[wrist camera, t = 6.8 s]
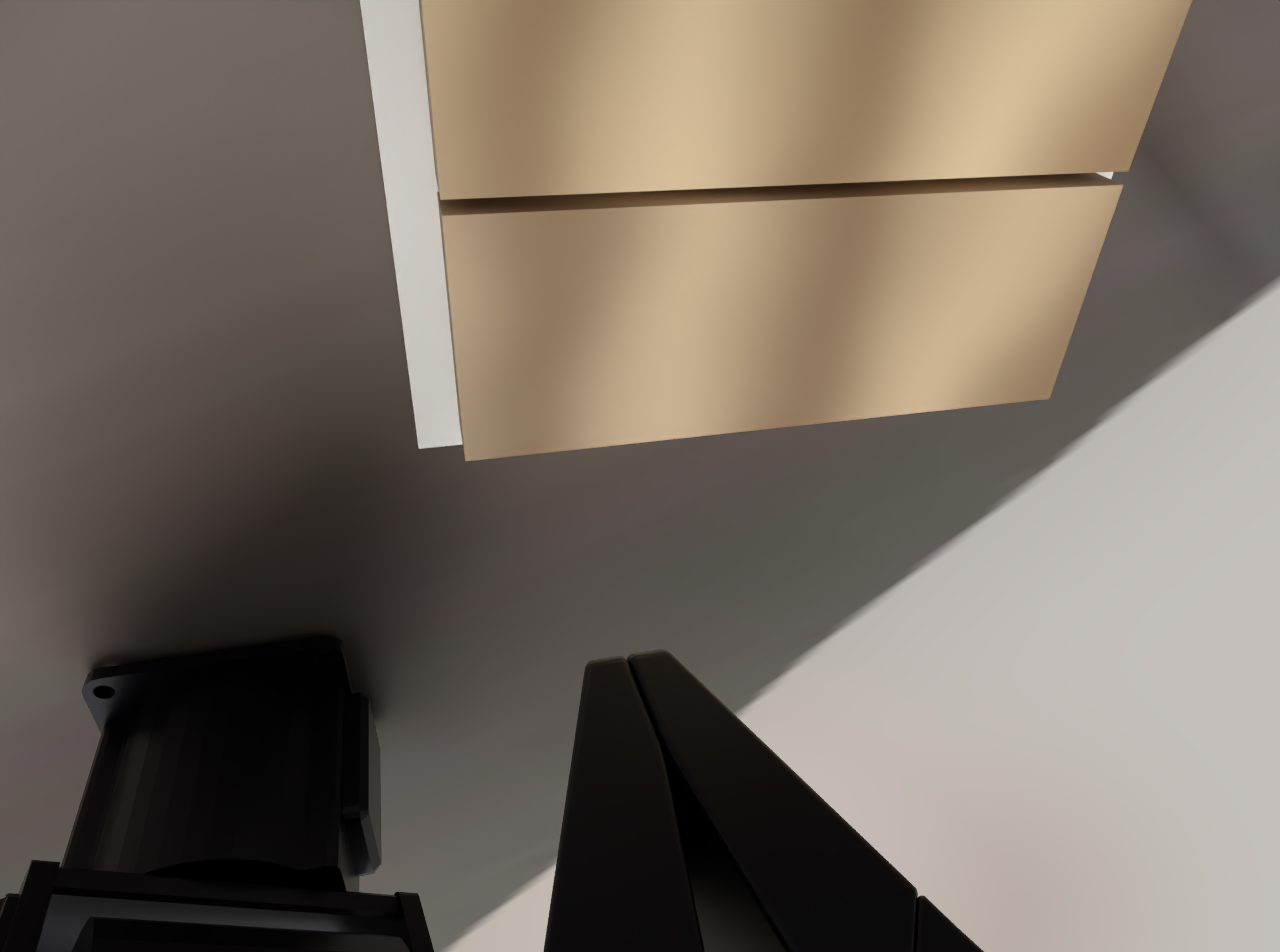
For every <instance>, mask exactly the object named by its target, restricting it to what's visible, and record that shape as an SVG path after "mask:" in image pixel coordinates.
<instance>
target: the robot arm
mask: <svg viewBox="0 0 1280 952" xmlns="http://www.w3.org/2000/svg"><path fill="white" fill-rule="evenodd" d="M322 652H328V653H330V654H328V655H321V654H319V653H322ZM101 685H107V686H110V687H103V686H101ZM82 693H83V697H84V699H85V701H86V703H87V705H88V707H89V709H90V711H91V713H92V715H93V717H94V719H95V721H96V723H97V725H98V728H99V730H100V732H101V738H100V741H99V744H98V747H97V751H96V754H95V757H94V760H93V764H92V767H91V770H90V774H89V777H88V780H87V783H86V787H85V790H84V793H83V796H82V800H81V803H80V806H79V809H78V813H77V816H76V819H75V822H74V826H73V829H72V832H71V836H70V839H69V842H68V845H67V849H66V852H65V855H64V858H63V862H62V865H61V867H59V866H60V862H51V861H39V860H32V861H31V863H30V866H29V868H28V871H27V873H26V876H25V878H24V881H23V883H22V886H21V888H20V890H19V893H18V894H10V893H8V894H6V897H5V898H3V899H0V952H434V950H433V946H432V942H431V939H430V935H429V931H428V928H427V924H426V920H425V917H424V913H423V909H422V906H421V902H420V898H419V895H418V894H417V893H406V892H396V893H395V894H394V895H385V894H373V893H361V892H359V876H364V875H369V874H373V873H375V871H376V870H377V869H378V867H379V866H380V865H381V784H380V747H379V743H378V738H377V733H376V728H375V724H374V719H373V714H372V709H371V705H370V700H369V698H368V697H367V696H366V695H364V694H363V693H362V692H359V693H354V690H353V686H352V681H351V677H350V672H349V668H348V663H347V659H346V655H345V650H344V646H343V644H342V642H341V641H340V640H339V639H337V638H336V637H333V636H316V637H309V638H302V639H295V640H288V641H281V642H274V643H268V644H261V645H254V646H247V647H240V648H233V649H226V650H220V651H213V652H206V653H199V654H192V655H185V656H178V657H172V658H165V659H158V660H151V661H144V662H137V663H130V664H124V665H117V666H110V667H103V668H99V669H95V670H93V671H92V672H90V673H89V674H88V676H87V678H86V680H85V683H84V686H83V689H82ZM917 896H918V893H917V889H916V888H915V887H914V886H913V885H912V884H911V883H910V882H909V881H908V880H907V879H906V878H905V877H904V876H903V875H902V874H901V873H900V872H898V871H897V870H896V869H895V868H894V867H893V866H892V865H891V864H890V863H889V862H888V861H887V860H886V859H885V858H884V857H883V856H882V855H881V854H880V853H878V851H877V850H875V849H874V848H873V847H872V846H871V845H870V844H869V843H868V842H867V841H866V840H865V839H864V838H863V837H862V836H861V835H860V834H859V833H858V832H856V830H855V829H853V828H852V827H851V826H850V825H849V824H848V823H847V822H846V821H845V820H844V819H843V818H842V817H841V816H840V815H839V814H838V813H837V812H836V811H835V810H834V809H833V808H831V807H830V806H829V805H828V804H827V803H826V802H825V801H824V800H823V799H822V798H821V797H820V796H819V795H818V794H817V793H816V792H815V791H814V790H813V789H812V788H811V787H810V786H809V785H808V784H806V783H805V782H804V781H803V780H802V779H801V778H800V777H799V776H798V775H797V774H796V773H795V772H794V771H793V770H792V769H791V768H790V767H789V766H788V765H787V764H785V763H784V762H783V761H782V760H781V759H780V758H779V757H778V756H777V755H776V754H775V753H774V752H773V751H772V750H771V749H770V748H769V747H768V746H767V745H766V744H765V743H764V742H763V741H761V740H760V739H759V738H758V737H757V736H756V735H755V734H754V733H753V732H752V731H751V730H750V729H749V728H748V727H747V726H746V725H745V724H743V722H742V721H741V720H740V719H739V718H737V717H736V716H735V715H734V714H733V713H732V712H731V711H730V710H729V709H728V708H727V707H726V706H725V705H724V704H723V703H722V702H721V701H720V700H719V699H718V698H717V697H716V696H714V695H713V694H712V693H711V692H710V691H709V690H708V689H707V688H706V687H705V686H704V685H703V684H702V683H701V682H700V681H699V680H698V679H697V678H696V677H695V676H694V675H693V674H691V673H690V672H689V671H688V670H687V669H686V668H685V667H684V666H683V665H682V664H681V663H680V662H679V661H678V660H677V659H676V658H675V657H674V656H673V655H672V654H670V653H669V652H668V651H665V650H653V651H647V652H641V653H634V654H631V655H630V656H629V657H628V658H627V660H626V659H625V658H624V657H622V656H616V657H610V658H604V659H598V660H592V661H589V662H588V663H587V665H586V667H585V672H584V679H583V686H582V693H581V699H580V706H579V713H578V720H577V727H576V734H575V740H574V747H573V754H572V761H571V768H570V775H569V781H568V788H567V795H566V802H565V809H564V816H563V823H562V829H561V836H560V843H559V850H558V857H557V864H556V870H555V877H554V885H553V891H552V898H551V905H550V911H549V918H548V925H547V932H546V939H545V946H544V952H984V951H983V950H981V949H980V948H979V947H978V946H977V945H976V944H975V943H974V942H973V941H972V940H970V939H969V938H968V937H967V936H966V935H965V934H964V933H963V932H962V931H961V930H960V929H958V928H957V927H956V926H955V925H954V924H953V923H952V922H951V921H950V920H949V919H948V918H947V917H946V916H945V915H944V914H943V913H942V912H940V911H939V909H937V908H936V907H935V906H934V905H933V904H932V903H931V902H930V901H929V900H928V899H927V898H926V897H925V896H919V897H918V898H917Z"/></svg>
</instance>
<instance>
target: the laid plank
mask: <svg viewBox="0 0 1280 952" xmlns="http://www.w3.org/2000/svg"><path fill="white" fill-rule="evenodd" d="M1122 188H1123V184H1120V183H1118V182H1116V181H1113V180H1111V179H1109V178H1106V177H1104V176H1102V175H1099V174H1097V173H1073V174H1049V175H1025V176H1001V177H977V178H953V179H929V180H905V181H881V182H856V183H832V184H808V185H784V186H760V187H736V188H712V189H688V190H664V191H640V192H616V193H591V194H567V195H543V196H519V197H495V198H471V199H447V200H440V195H439V192H437V196H438V207H439V217H440V227H441V238H442V248H443V258H444V268H445V279H446V289H447V299H448V310H449V320H450V330H451V340H452V351H453V361H454V371H455V382H456V392H457V402H458V413H459V423H460V431H461V437H462V443H463V449H464V456H465V461H473V460H483V459H492V458H501V457H511V456H520V455H529V454H539V453H548V452H557V451H567V450H576V449H585V448H595V447H604V446H613V445H622V444H632V443H641V442H650V441H660V440H669V439H678V438H688V437H697V436H706V435H716V434H725V433H734V432H744V431H753V430H762V429H771V428H781V427H790V426H799V425H809V424H818V423H827V422H837V421H846V420H855V419H865V418H874V417H883V416H893V415H902V414H911V413H921V412H930V411H939V410H948V409H958V408H967V407H976V406H986V405H995V404H1004V403H1014V402H1023V401H1032V400H1042V399H1049V398H1050V395H1051V393H1052V390H1053V387H1054V384H1055V381H1056V378H1057V375H1058V372H1059V369H1060V367H1061V364H1062V361H1063V358H1064V355H1065V352H1066V349H1067V346H1068V343H1069V341H1070V338H1071V335H1072V332H1073V329H1074V326H1075V323H1076V320H1077V318H1078V315H1079V312H1080V309H1081V306H1082V303H1083V300H1084V297H1085V294H1086V292H1087V289H1088V286H1089V283H1090V280H1091V277H1092V274H1093V271H1094V268H1095V266H1096V263H1097V260H1098V257H1099V254H1100V251H1101V248H1102V245H1103V243H1104V240H1105V237H1106V234H1107V231H1108V228H1109V225H1110V222H1111V219H1112V217H1113V214H1114V211H1115V208H1116V205H1117V202H1118V199H1119V196H1120V193H1121V191H1122Z"/></svg>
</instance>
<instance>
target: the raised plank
mask: <svg viewBox="0 0 1280 952" xmlns="http://www.w3.org/2000/svg"><path fill="white" fill-rule="evenodd" d="M1191 2H1192V0H419V9H420V20H421V30H422V41H423V51H424V61H425V72H426V82H427V93H428V103H429V113H430V124H431V134H432V145H433V155H434V165H435V175H436V180H437V185H438V190H439V195H440V200H447V199H471V198H495V197H519V196H543V195H567V194H591V193H616V192H640V191H664V190H688V189H712V188H736V187H760V186H784V185H808V184H832V183H856V182H881V181H905V180H929V179H953V178H977V177H1001V176H1025V175H1049V174H1073V173H1097V172H1121V171H1128V170H1129V168H1130V165H1131V162H1132V160H1133V157H1134V154H1135V152H1136V149H1137V146H1138V144H1139V141H1140V138H1141V136H1142V133H1143V130H1144V128H1145V125H1146V122H1147V120H1148V117H1149V114H1150V112H1151V109H1152V106H1153V104H1154V101H1155V98H1156V96H1157V93H1158V90H1159V88H1160V85H1161V82H1162V80H1163V77H1164V74H1165V72H1166V69H1167V66H1168V64H1169V61H1170V58H1171V56H1172V53H1173V50H1174V48H1175V45H1176V42H1177V40H1178V37H1179V34H1180V32H1181V29H1182V26H1183V24H1184V21H1185V18H1186V16H1187V13H1188V10H1189V7H1190V5H1191Z"/></svg>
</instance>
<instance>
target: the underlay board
mask: <svg viewBox="0 0 1280 952" xmlns="http://www.w3.org/2000/svg"><path fill="white" fill-rule="evenodd" d="M360 4H361V12H362V19H363V27H364V35H365V42H366V50H367V58H368V65H369V73H370V81H371V88H372V96H373V103H374V111H375V119H376V126H377V134H378V142H379V149H380V157H381V165H382V172H383V180H384V187H385V195H386V203H387V210H388V218H389V226H390V233H391V241H392V249H393V256H394V264H395V271H396V279H397V287H398V294H399V302H400V310H401V317H402V325H403V333H404V340H405V348H406V356H407V363H408V371H409V378H410V386H411V394H412V401H413V409H414V417H415V424H416V432H417V440H418V447H419V449H423V448H432V447H442V446H452V445H461V444H463V443H462V437H461V431H460V423H459V413H458V402H457V392H456V382H455V371H454V361H453V351H452V340H451V330H450V320H449V310H448V299H447V289H446V279H445V268H444V258H443V248H442V238H441V227H440V217H439V207H438V196H437V192H439V190H438V185H437V180H436V175H435V165H434V155H433V145H432V134H431V124H430V113H429V103H428V93H427V82H426V72H425V61H424V51H423V41H422V30H421V20H420V9H419V0H360ZM1097 174H1099V175H1102V176H1104V177H1106V178H1109V179H1111V178H1112V175H1113V172H1097Z"/></svg>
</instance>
